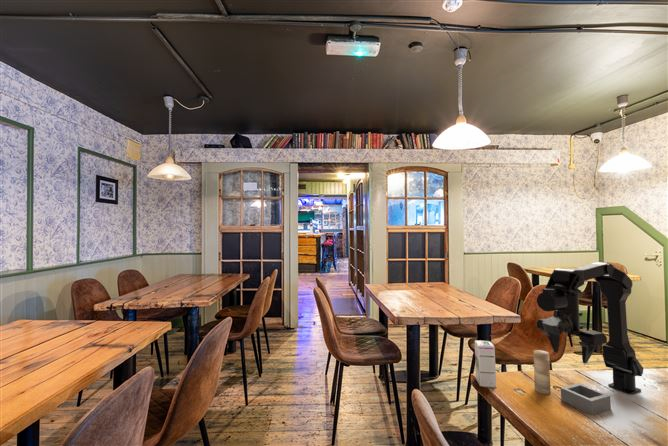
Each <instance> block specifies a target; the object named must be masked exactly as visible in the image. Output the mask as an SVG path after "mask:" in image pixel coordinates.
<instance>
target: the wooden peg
mask: <svg viewBox="0 0 668 446" xmlns="http://www.w3.org/2000/svg"><path fill="white" fill-rule="evenodd" d="M550 367H551V366H550V353H549V352H548V351H546V350H542V349H535V350H533V372H534V375H533V376H534V390H535V391H536V392H538V393H540V394H544V395H550V394H551V369H550Z"/></svg>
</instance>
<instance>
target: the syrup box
mask: <svg viewBox="0 0 668 446" xmlns="http://www.w3.org/2000/svg"><path fill="white" fill-rule="evenodd" d="M495 347H496V346H494V344H493V343H492V342H491V341H490V340H481V339H480V340H474V358H475V360H474V362H475V365H474V366H475V380H476V382H477V383H478V385H479V387H485V388H497V371H496V370H497V369H496V354H495V353H496V349H495Z"/></svg>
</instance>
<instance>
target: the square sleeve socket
mask: <svg viewBox="0 0 668 446" xmlns="http://www.w3.org/2000/svg"><path fill="white" fill-rule="evenodd" d="M560 400H561V401H562V402H564V403H566V404H568V405H570V406H573V407H574V408H577V409H578V410H581V411H583V412H585V413H587V414H589V415H593V416H594V415H596V414H599V413H603V412H606V411H609V410H612V408H611V407H612V404H611V403H612V402H611V395H610V394H607V393H604V392H602V391H599V390H597V389H595V388H592V387H589V386H587V385H584V384H582V383H580V382H577V383H575V384H574V383H573V384H570V385H565V386H562V387H560Z"/></svg>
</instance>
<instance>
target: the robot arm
mask: <svg viewBox="0 0 668 446" xmlns="http://www.w3.org/2000/svg"><path fill="white" fill-rule="evenodd" d="M592 279H593V280H594V281H595V282H596V283H597V284H598V285H599V292H600V293H602V296H603V297H604V298H605V299H606V309H607V310H606V311H607V324H608V326H607V327H608V328H607V329H608V338H607V335H606V334H605V333H604V332H601V331H597V330H593V329H588V330H583V329H584V325H581V324H580V317H583V312H581V311H580V303H579V302H580V300H579V298H580V297H579V295H582V294H583V291H582V290H581V289H579V288H581V287H582V286H584V285H585V282H587V281H589V280H592ZM632 288H633V281H632V278H630V277H629V276H628V274H627V273H626V272H623V271H622V270H620V269H618V268H616V267H615V266H614V265H613V264H611V263H609V262H598V261H597V262H592V263H591V264H587V265H582V266H580V267H576V268H575V267H574V268H558V267H557V268H555V269H554V270H553V271H552V273H551V274H550V277H549V278H548V281H547V283H546V285H545V288H542V292H541V293H539V294H538V296H537V297H536V304H537V306H538V308H540V309H541V310H542V311H544V312H553V315H552V316H550V317H548V318H540V319H537V321H536V323H535V324H536V328H537V329H539V330H540V332H543V334H545V336H546V337H547V338H548V339H547V340H549V343H550V345H551V347H552V350H553V352H554V353H555V354H557V353H559V349H560V338H561V335H562V333H566V334H570V335H573V336H577V337H578V340H579V341H578V344H579V345H580V346H581V357H582V358H581V359H582V363H583V364H585V365H586V364H588V361H589V360H590V358H591V356H592V355H593V354H594V352H595V350H596V349H597V348H598V346H602V349H601V350H602V355H601V356H602V358H603V362H604V365H605V368H610V369H612V383H608V384H607V386H609V387H611V388H614V389H616V390H618V391H621V392H624V393H627V394H629V395H631V394H635V393H639V392H642V389H641V388H639V387H636V377H643V375H644V374H643V373H644V367H643V365H642V364H641V363H640V361H639V360H638V359H637V355H636V351H635V349H634V348H633V347H632V345H631V344H630V343H629V338H628V337H629V336H628V321H627V307H626V305H627V304H626V300H627V299H628V297H630V295H631V294H632Z"/></svg>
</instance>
